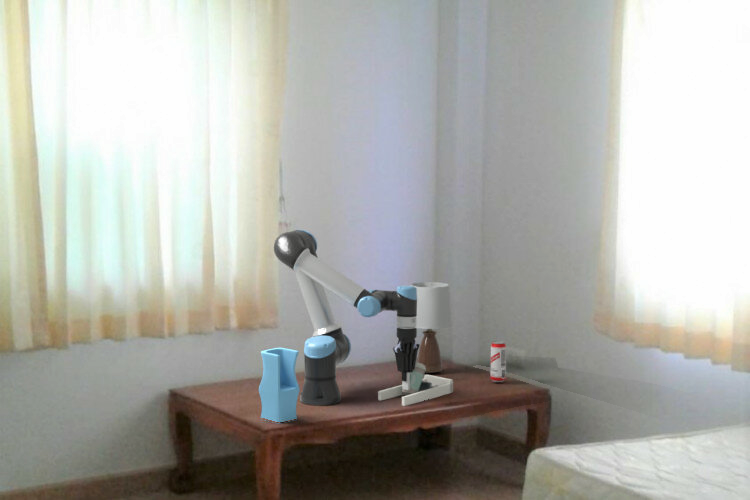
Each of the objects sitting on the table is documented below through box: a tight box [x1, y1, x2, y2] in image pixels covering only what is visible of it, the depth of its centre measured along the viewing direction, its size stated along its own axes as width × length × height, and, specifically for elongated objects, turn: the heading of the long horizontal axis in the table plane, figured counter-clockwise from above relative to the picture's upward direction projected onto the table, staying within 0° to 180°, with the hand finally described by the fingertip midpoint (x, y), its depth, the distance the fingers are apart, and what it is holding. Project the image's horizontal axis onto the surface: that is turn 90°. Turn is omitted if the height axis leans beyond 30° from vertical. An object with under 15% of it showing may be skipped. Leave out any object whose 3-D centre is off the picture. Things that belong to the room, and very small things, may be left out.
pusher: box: [418, 381, 438, 392], centre depth 353 cm, size 10×9×5 cm
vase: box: [258, 347, 300, 422], centre depth 312 cm, size 10×10×25 cm
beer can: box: [489, 340, 507, 383], centre depth 371 cm, size 6×6×16 cm
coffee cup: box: [402, 361, 427, 396], centre depth 347 cm, size 8×8×12 cm
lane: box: [377, 373, 454, 407], centre depth 347 cm, size 29×13×5 cm, turn 137°
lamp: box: [410, 281, 452, 374], centre depth 389 cm, size 19×19×37 cm
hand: (406, 389), depth 342 cm, fingers closed
